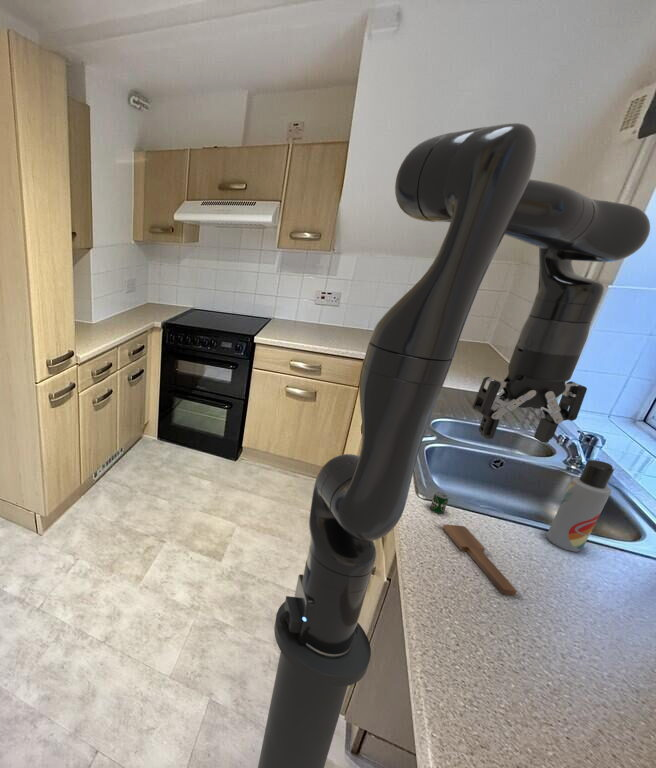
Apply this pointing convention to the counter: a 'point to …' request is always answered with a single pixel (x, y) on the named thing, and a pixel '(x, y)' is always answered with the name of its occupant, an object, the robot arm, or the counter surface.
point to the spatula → (479, 556)
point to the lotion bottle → (581, 506)
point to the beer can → (439, 502)
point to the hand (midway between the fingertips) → (512, 438)
